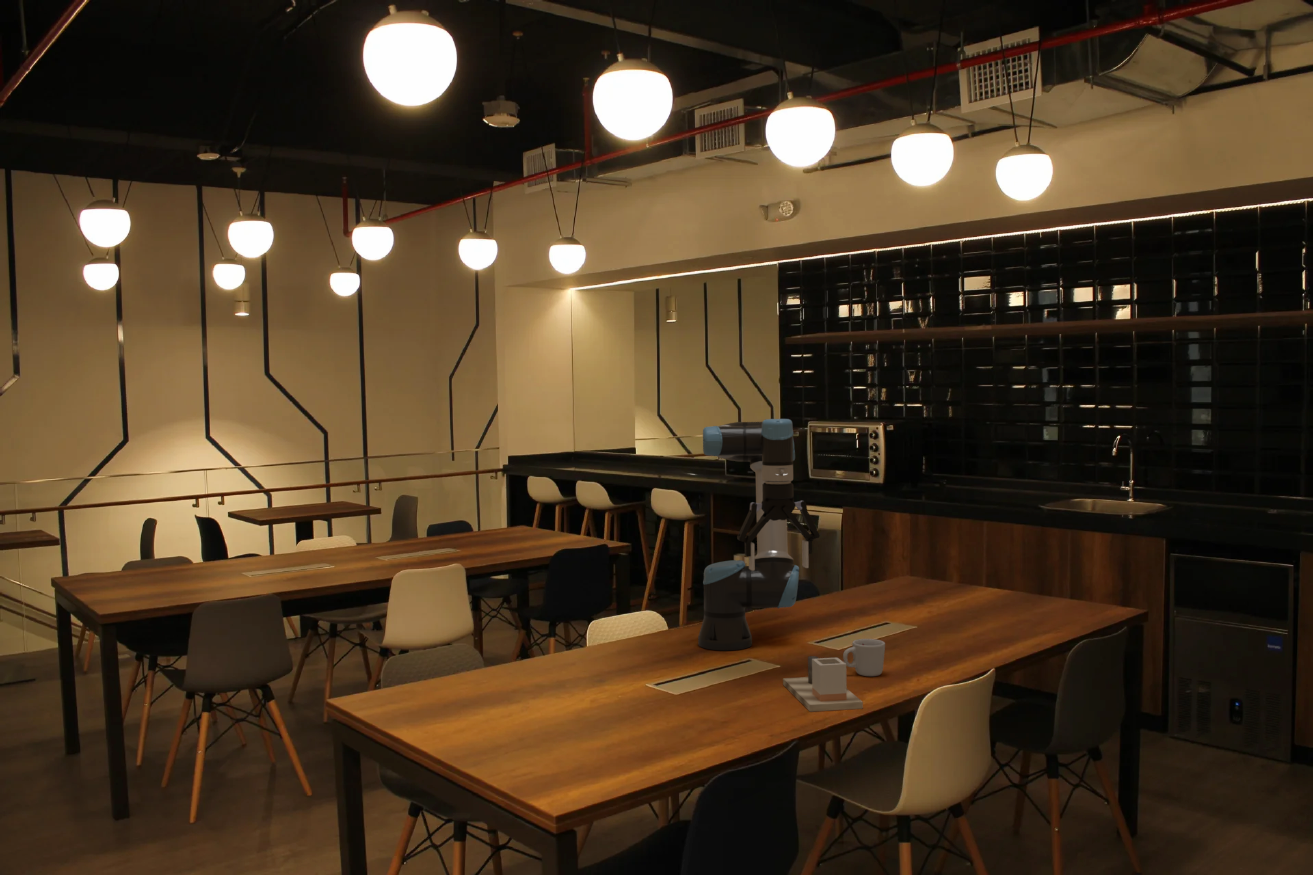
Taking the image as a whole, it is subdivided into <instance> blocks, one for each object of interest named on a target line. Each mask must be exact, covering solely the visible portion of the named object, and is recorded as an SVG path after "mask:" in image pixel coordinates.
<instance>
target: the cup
mask: <svg viewBox="0 0 1313 875" xmlns="http://www.w3.org/2000/svg"><path fill="white" fill-rule="evenodd" d="M851 644H852V646H851V647H849V648H847V649H845V650H844V652H843V655H842V659H843V660H842V661H843V662H844V663H845V664H846V667H848V668H855V672H856V673H857V675H860V676H864V677H877V676H880V675H881V674H882V673H883V670H884V663H885V662H884V661H885V651H886V650H885V649H886V642H885V641H883V640H881V639H876V638H875V639H873V638H860V639H855V640H853V641H852V643H851ZM850 653H851V654H852V658H853V659H852V661H851V662H849V660H848V656H849V654H850Z"/></svg>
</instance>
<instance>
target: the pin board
mask: <svg viewBox="0 0 1313 875" xmlns="http://www.w3.org/2000/svg"><path fill="white" fill-rule="evenodd" d="M812 659H819V656H815V655H813V656H812V655H811V656H807V676H805V677H804V676H803V677H801V676H800V677H785V678H782V685H783V686H784V687H785V688H786V689H787V690H788V691H789V692H790V693H791V694H792V695H793V696H794V697H795V699H797V701H799V702H800V703H801V704H802V705H803V706H804V707H805V708H806V709H807V710H808V711H809V712H825V711H826V712H827V711H843V710H845V711H846V710H847V711H848V710H862V709H864V707H863V706H864V705H863V704H864V702H863V701H862V700H861V698H859V697H858V696H856V695H855V694H854V693H853V692H852V691H850V690H849V689H848V688H847V700H837V701H819V700H818V699H817V698H816V697H815V696H814V695H813V694H812Z"/></svg>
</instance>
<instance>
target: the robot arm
mask: <svg viewBox="0 0 1313 875" xmlns="http://www.w3.org/2000/svg"><path fill="white" fill-rule="evenodd" d="M793 427H794V426H793V421H792V420H791V419H789V418H767V419H764V420H763V421H735V422H730V423H725V424H722V425H713V426H705V427H704V428H703V429H702V451H703V454H704V455H705V456H709V457H710V456H711V457H712V456H713V457H717V458H720V459H723V460H728V461H732V462H734V461H735V462H749V466H750V467H749V468H750V469H751V470H752V471H753V472H755V502H753V501H752V502H750V503H749V508H748V513H747V515H746V517H745V519H744V521H743V523H742V525H741V528H740V530H739V532H738V534H737V536H736V538H737V540H738V541H739V542H742V543H744V555H745V557H746V558H747V557H748V565H746V563H745V560H740V559H739V560H737V559H736V560H735V559H733V560H725V561H719V562H714V563H711V564H709V565H707V566H706V567H705V568H704V571H703V581H702V584H703V619H702V624H701V626H700V630H699V633H698V640H697V642H698V643H697V644H698V646H699V647H700V648H703V649H706V650H713V651H714V650H715V651H738V650H744V649H748V648H750V647H751V646H752V645H753V637H752V636H753V635H752V634H751V630H750V627H749V624H748V621H747V618H746V609H747V608H749V609H750V608H752V609H754V608H755V609H757V608H758V609H759V608H763V609H764V608H768V609H769V608H774V609H775V608H777V609H781V608H791V607H793V606H794V605H795V604H796V600H797V595H798V588H799V587H798V586H799V578H800V576H799V575H800V567H799V565H796V564H794V558H793V557H792V556H791V555H790V554H789V548H788V521H789V522H790V523H791V524H792V525H793V526H794V527H795V528H796V530H797V531H798V532H799V533H800V534H801V536H802V537H803V538H804V539H802V540H801V548H802V549H801V562H802V563H801V564H802V567H803V568H805V569H809V565H810V564H809V555H810V554H812V553H813V541H814V540H816V539H819V538H820V533H819V531H818V529H817V527H816V525H815V523H814V520H813V518H812V517H811V515H810V513H809V511H808V507H807V502H806V501H805V500H799V501H794V500H795V499H794V484H793V482H792V481H793V480H794V461H795V459H796V452H795V442H794V430H793V429H794V428H793ZM795 509H797V510H798V511H799V512H800V514H801V516H802V518H803V520H804V522H805V524H806V526H807V528H808V530H809V532H810V533H809V532H808V530H807V529H806V528H805V527H804V526H803V525H802V524H801V522H800V521H799V520H798V519H797V518H796V517H797V516H795V515H794V513H793V511H794V510H795ZM755 517H756V523H755V525H754V526H753V527H752V528H751V525H752V523H753V522H754V520H755ZM787 519H788V520H787ZM750 528H751V530H750ZM755 539H756V541H757V542H756V544H757V545H756V546H757V547H756V549H757V550H756V551H757V552H756V553H757V554H756V555H755V543H754V542H753V541H754V540H755Z"/></svg>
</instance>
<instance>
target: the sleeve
mask: <svg viewBox="0 0 1313 875" xmlns="http://www.w3.org/2000/svg"><path fill="white" fill-rule="evenodd" d="M847 689H848V688H847V666H846V664H845V663H844V660H841V659H840V658H839V657H824V658H823V657H822V658H821V657H820V658H819V657H818V659H812V694H813V695H814V696H815V697H816V698H817V699H818V700H819V701H837V700H847Z"/></svg>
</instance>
